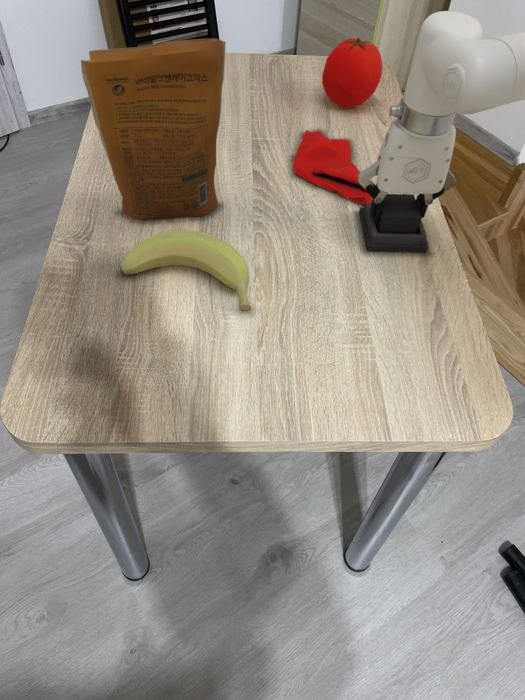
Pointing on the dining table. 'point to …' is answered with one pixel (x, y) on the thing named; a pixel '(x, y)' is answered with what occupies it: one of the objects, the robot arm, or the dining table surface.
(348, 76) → the tomato
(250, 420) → the dining table surface
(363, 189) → the cloth
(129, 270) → the banana
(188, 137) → the pancake mix bag
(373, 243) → the base pad
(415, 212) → the black pad
